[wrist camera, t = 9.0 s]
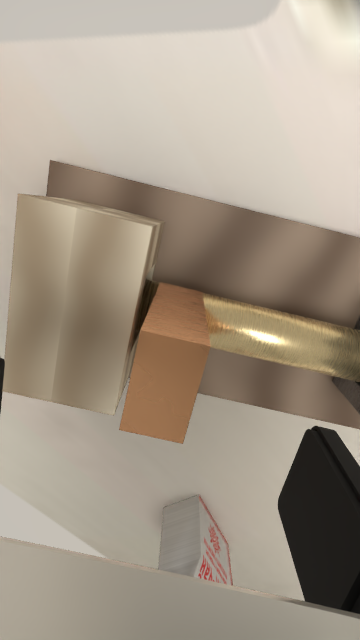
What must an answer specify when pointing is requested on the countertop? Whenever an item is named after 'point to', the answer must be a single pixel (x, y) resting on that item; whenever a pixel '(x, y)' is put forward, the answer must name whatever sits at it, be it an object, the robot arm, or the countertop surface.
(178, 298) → the brass tube
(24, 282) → the ash socket block
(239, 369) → the walnut base board
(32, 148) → the countertop surface
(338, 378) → the galvanized steel sleeve
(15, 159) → the countertop surface
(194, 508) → the white angular box
